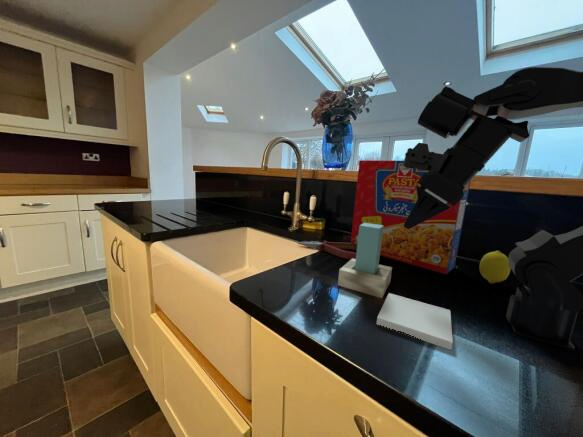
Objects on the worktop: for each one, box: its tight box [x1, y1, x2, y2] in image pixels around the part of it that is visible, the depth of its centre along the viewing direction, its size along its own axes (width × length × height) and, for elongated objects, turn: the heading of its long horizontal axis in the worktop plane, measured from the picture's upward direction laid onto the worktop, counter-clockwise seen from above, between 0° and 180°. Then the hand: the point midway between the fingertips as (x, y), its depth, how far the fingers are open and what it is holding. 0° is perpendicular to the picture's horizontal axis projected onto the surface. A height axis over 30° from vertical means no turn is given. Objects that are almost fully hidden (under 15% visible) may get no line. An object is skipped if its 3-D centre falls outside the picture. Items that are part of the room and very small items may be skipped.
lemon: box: [479, 250, 512, 284], centre depth 57 cm, size 6×6×8 cm
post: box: [355, 223, 384, 275], centre depth 52 cm, size 4×4×13 cm
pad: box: [376, 292, 454, 351], centre depth 40 cm, size 10×10×1 cm
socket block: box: [337, 258, 393, 299], centre depth 53 cm, size 9×9×4 cm
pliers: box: [297, 240, 357, 261], centre depth 76 cm, size 12×20×3 cm, turn 66°
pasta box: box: [350, 159, 472, 275], centre depth 72 cm, size 28×8×28 cm, turn 44°
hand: (408, 224), depth 47 cm, fingers open, 9 cm apart
